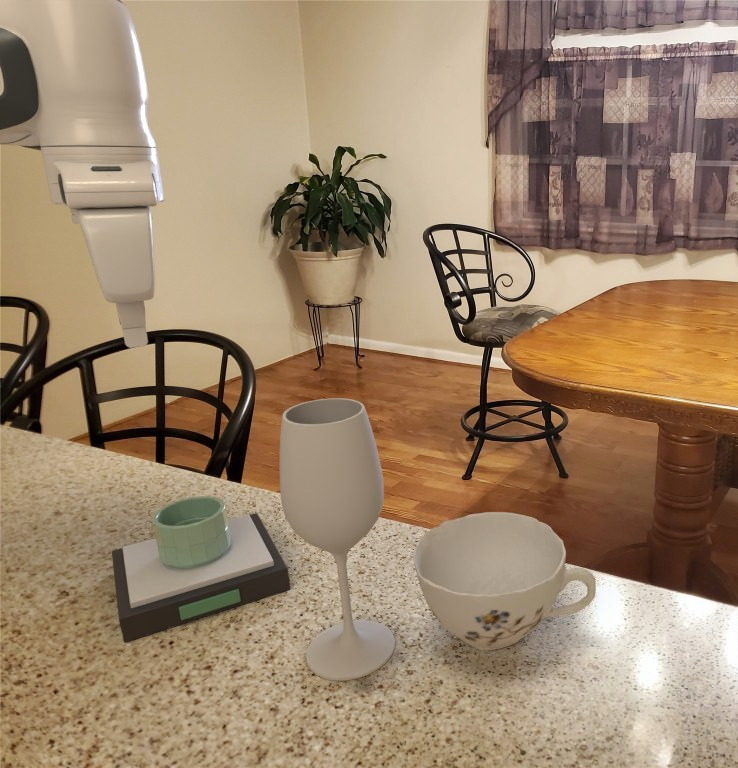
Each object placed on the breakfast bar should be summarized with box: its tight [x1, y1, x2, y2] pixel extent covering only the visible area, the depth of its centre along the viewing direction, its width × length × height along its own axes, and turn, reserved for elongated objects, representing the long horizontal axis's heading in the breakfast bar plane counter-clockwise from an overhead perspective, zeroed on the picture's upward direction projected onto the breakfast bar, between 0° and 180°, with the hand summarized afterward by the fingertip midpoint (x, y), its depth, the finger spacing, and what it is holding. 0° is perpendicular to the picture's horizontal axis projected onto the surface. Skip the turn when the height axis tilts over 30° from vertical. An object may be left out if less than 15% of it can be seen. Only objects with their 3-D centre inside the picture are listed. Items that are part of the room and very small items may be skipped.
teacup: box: [413, 511, 597, 651], centre depth 57 cm, size 15×12×8 cm
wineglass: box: [279, 397, 396, 681], centre depth 54 cm, size 8×8×21 cm
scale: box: [111, 512, 291, 643], centre depth 66 cm, size 14×13×3 cm
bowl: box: [151, 495, 231, 569], centre depth 65 cm, size 6×6×4 cm
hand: (133, 335), depth 65 cm, fingers open, 8 cm apart
